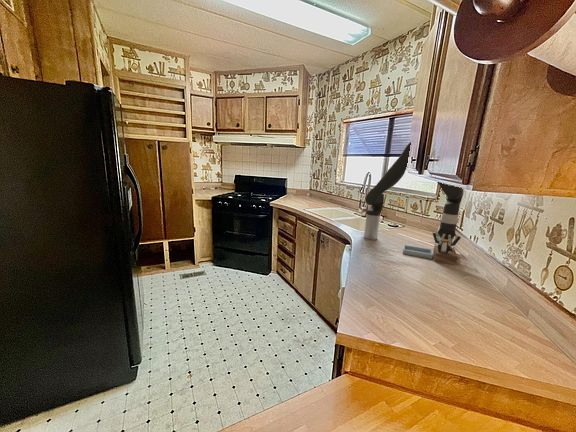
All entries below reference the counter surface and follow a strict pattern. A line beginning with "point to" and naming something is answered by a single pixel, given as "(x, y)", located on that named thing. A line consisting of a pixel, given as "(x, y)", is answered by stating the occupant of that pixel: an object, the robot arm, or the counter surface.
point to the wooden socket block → (445, 256)
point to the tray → (417, 251)
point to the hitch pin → (444, 246)
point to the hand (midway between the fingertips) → (443, 250)
